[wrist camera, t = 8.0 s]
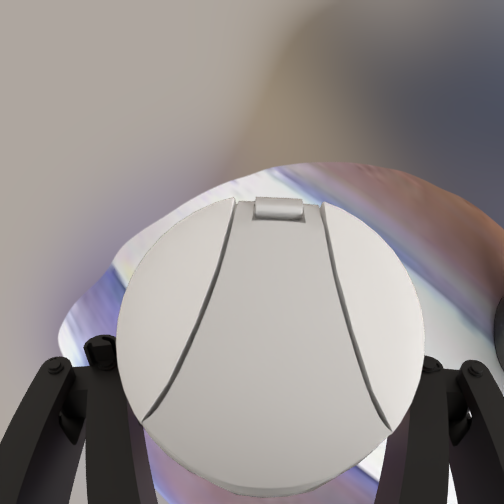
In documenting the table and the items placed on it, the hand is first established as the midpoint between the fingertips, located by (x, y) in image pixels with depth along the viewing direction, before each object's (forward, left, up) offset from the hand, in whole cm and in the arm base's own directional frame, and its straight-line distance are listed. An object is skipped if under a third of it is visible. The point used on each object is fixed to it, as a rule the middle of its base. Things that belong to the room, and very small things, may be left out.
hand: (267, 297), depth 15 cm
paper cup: (0, +3, -5) cm, 6 cm away
